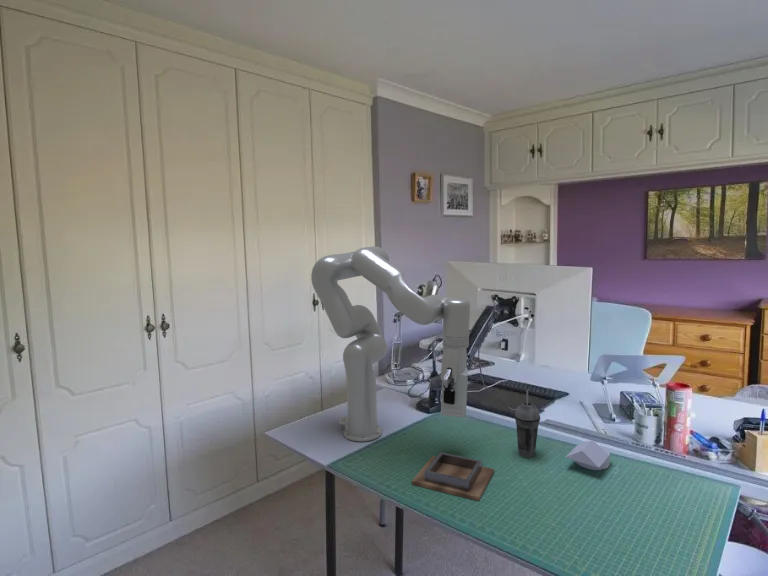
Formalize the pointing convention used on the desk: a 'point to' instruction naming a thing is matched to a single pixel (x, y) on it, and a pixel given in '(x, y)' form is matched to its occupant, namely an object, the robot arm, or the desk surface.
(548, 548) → the desk surface
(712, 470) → the desk surface
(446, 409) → the supplement box
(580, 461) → the grey faceted rock
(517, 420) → the beverage cup
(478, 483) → the collar board
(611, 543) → the desk surface
